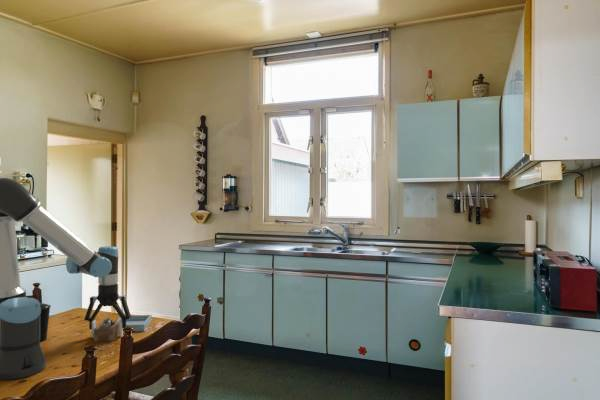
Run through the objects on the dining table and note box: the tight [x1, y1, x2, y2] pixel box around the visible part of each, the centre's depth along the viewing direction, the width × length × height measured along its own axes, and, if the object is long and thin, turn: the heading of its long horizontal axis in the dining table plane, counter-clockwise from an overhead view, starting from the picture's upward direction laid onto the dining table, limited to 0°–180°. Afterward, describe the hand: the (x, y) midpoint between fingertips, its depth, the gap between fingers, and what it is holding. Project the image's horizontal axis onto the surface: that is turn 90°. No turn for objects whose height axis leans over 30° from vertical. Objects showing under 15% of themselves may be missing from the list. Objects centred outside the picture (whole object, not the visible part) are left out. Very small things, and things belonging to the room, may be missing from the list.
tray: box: [116, 314, 153, 333], centre depth 190 cm, size 16×14×3 cm
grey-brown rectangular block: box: [93, 318, 120, 342], centre depth 175 cm, size 10×7×6 cm
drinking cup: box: [38, 290, 52, 343], centre depth 170 cm, size 8×8×20 cm
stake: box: [102, 316, 111, 328], centre depth 174 cm, size 4×3×8 cm
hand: (107, 336), depth 175 cm, fingers open, 10 cm apart
